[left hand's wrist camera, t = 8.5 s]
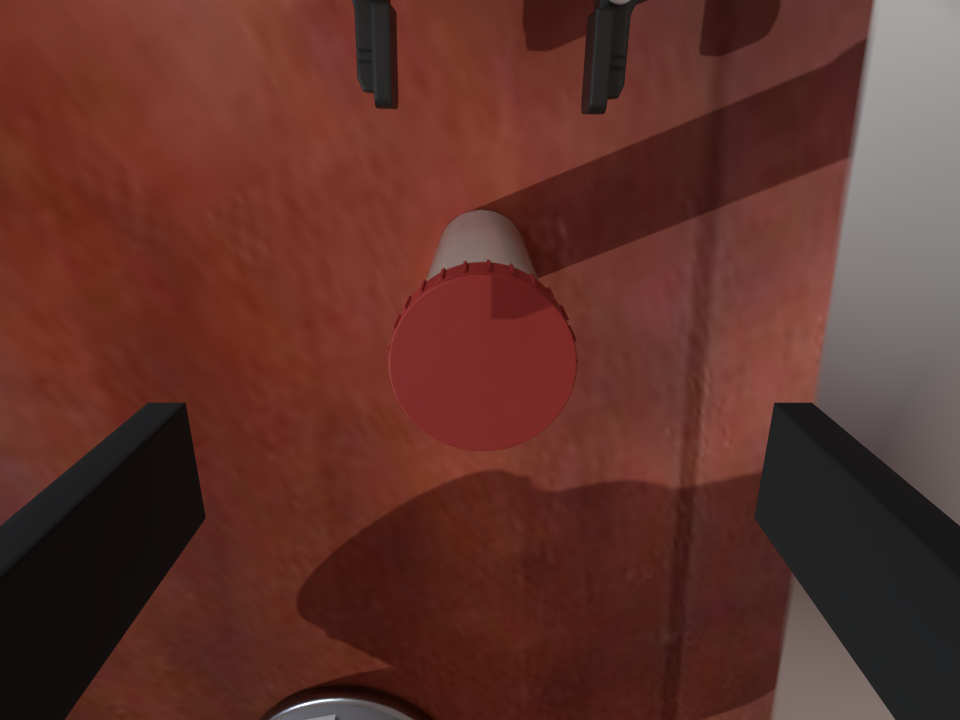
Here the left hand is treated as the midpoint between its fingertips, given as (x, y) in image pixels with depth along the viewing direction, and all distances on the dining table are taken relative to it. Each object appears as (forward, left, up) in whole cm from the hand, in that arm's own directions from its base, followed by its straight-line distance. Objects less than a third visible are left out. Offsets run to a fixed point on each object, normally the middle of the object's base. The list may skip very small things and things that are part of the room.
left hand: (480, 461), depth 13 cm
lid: (0, 0, -6) cm, 6 cm away
